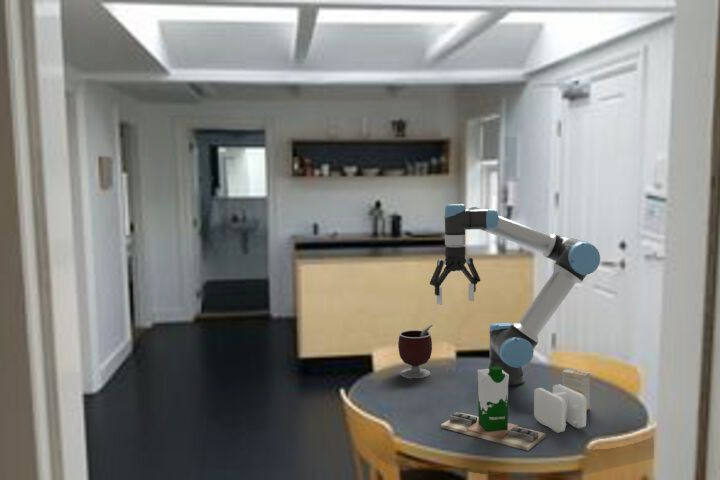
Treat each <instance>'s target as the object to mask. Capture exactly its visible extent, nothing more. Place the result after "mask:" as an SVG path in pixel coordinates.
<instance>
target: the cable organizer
mask: <svg viewBox="0 0 720 480" xmlns="http://www.w3.org/2000/svg"><path fill="white" fill-rule="evenodd" d="M533 394H534V395H533V416H534V419H535V420H536V422H539V424H541V425H543V426H546V427H548V428H550V429H551V431H553V432H555V433H557V434H559V433H562V432H563V433H564V432H565V430H566V426H567V425H568V424H570V425H571V426H572V427H574V428H576V429H578V430H579V429H583V428H585V427H586V426H587V411H586V404H587V401H586V398H585V396H584V395H582V394H581V393H578V392H576V391H574V390H572V389H570V388H567V387H565V386H563V385H562V383H561V384H560V383H559V384H558V383H557V384H554V385H553V386H552V392H551V391H548V390H547V389H545V388H543V387H536V388H535V389H534V391H533ZM567 423H568V424H567Z"/></svg>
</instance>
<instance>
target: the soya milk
mask: <svg viewBox="0 0 720 480" xmlns="http://www.w3.org/2000/svg"><path fill="white" fill-rule="evenodd" d="M508 380H509V375H508V374H507V373H506V372H504V371H503V370H502V367H500V366H490V367H489V369H487V368H483V369H477V381H478V386H477V387H478V388H477V389H478V391H477V393H478V396H477V397H478V399H477V400H478V405H477V406H478V417H479V424H480V425H481V426H482V427H483V428H484V429H485V430H486V431H487V432H490V431H500V430H508V423H509V386H508Z"/></svg>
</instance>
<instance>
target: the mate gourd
mask: <svg viewBox="0 0 720 480" xmlns="http://www.w3.org/2000/svg"><path fill="white" fill-rule="evenodd" d="M431 327H433V324H430V325H428V326H426V327H425V328H424V329H422V330H420V329H419V330H418V329H417V330H416V329H412V330H405V331H401V332H399V336H398V342H397V344H398V347H397V348H398V352H399V353H398V354H399V358H400V359H401V360H402V362H403V363H405V364H407V365H409V366H411V368H405V369H403V370H401V371H400V375H401V376H402V377H403V378H405V377H406V379H411V378H421V379H425V378H424V377H426V378H429V377H430V376H431V371H430V370H428V369H424V368H420V366H422V365H424V364H427V363H428V361H429V360H430V359H431V356H432V352H433V342H432V341H433V340H432V337H431V332H429V330H430V328H431ZM429 375H430V376H429Z"/></svg>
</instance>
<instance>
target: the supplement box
mask: <svg viewBox="0 0 720 480" xmlns="http://www.w3.org/2000/svg"><path fill="white" fill-rule="evenodd" d="M590 374H591V373H590V372H588V371H582V370H577V369H573V368H567V369H564V370H562V371H561V379H562V380H561V385H563V386H565V387H567V388H570V389H572V390H574V391H576V392H578V393H581V394H582V395H584V396H585V398H586V401H587V404H586V412H587V411H588V410H590V387H591V385H590Z"/></svg>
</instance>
